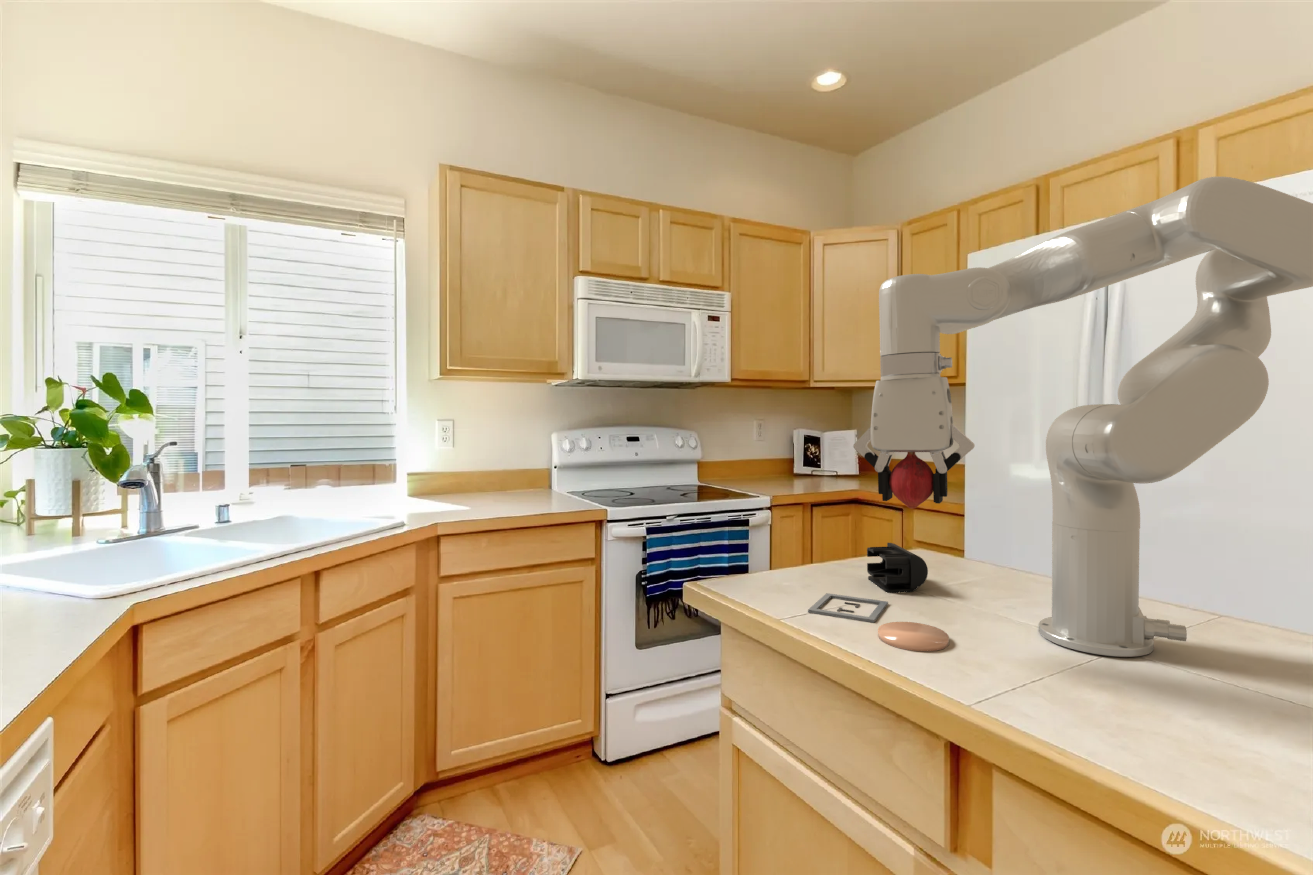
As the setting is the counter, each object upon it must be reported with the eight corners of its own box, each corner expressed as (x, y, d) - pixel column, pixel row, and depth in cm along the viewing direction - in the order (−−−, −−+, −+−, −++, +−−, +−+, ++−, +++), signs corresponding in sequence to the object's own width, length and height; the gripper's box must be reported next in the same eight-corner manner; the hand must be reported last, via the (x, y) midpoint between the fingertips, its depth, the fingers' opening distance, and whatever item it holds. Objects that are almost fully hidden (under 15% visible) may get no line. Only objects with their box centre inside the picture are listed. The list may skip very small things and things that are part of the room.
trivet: (952, 633, 86) (952, 628, 86) (944, 656, 78) (944, 650, 78) (885, 623, 90) (885, 617, 90) (871, 643, 83) (871, 637, 83)
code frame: (888, 604, 99) (888, 601, 99) (874, 622, 91) (874, 619, 91) (826, 595, 105) (826, 593, 105) (808, 612, 96) (808, 609, 96)
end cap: (928, 593, 105) (928, 554, 105) (887, 594, 105) (887, 555, 105) (903, 577, 115) (903, 541, 115) (866, 578, 115) (866, 542, 115)
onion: (943, 511, 81) (942, 450, 81) (899, 512, 81) (897, 452, 81) (925, 504, 87) (924, 448, 86) (884, 505, 87) (883, 449, 87)
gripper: (984, 365, 82) (986, 500, 82) (853, 374, 91) (855, 494, 92) (978, 362, 75) (980, 508, 76) (838, 372, 85) (841, 501, 85)
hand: (912, 499), depth 84 cm, fingers closed on onion, 5 cm apart
